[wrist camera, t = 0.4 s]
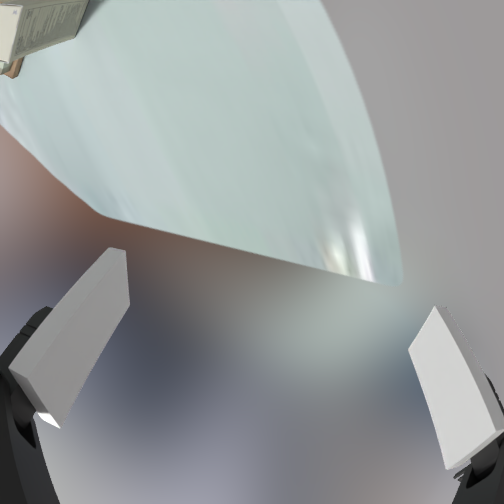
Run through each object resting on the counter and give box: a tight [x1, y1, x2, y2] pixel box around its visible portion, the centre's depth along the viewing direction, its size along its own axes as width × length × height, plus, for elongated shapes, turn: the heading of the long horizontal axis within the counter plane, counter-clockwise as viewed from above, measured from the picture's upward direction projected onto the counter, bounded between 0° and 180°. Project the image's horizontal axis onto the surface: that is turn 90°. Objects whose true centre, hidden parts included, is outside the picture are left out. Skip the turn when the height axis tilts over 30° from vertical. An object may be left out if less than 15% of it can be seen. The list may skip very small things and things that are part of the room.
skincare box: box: [0, 0, 89, 64], centre depth 17 cm, size 6×4×12 cm
